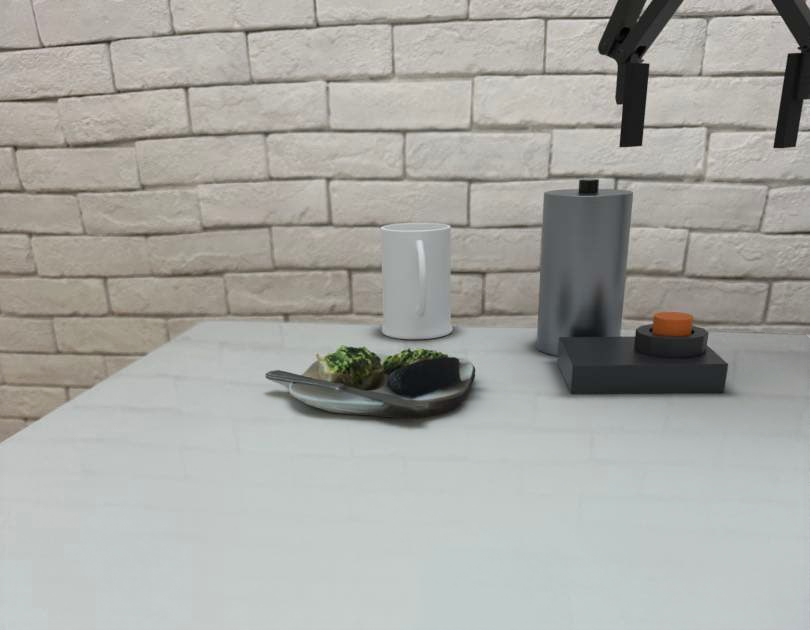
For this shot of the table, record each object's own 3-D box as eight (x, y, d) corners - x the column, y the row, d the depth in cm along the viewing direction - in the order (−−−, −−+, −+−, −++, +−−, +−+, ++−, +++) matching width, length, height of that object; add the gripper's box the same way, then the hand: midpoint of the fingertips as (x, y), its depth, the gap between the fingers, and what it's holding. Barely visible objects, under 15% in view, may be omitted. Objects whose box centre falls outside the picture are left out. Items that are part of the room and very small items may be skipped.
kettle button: (685, 329, 83) (687, 311, 83) (695, 338, 80) (697, 319, 79) (648, 330, 84) (650, 312, 83) (656, 338, 80) (658, 320, 80)
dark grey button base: (693, 361, 88) (699, 317, 86) (724, 392, 79) (731, 344, 77) (557, 363, 89) (559, 319, 87) (570, 394, 79) (574, 345, 77)
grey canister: (611, 337, 99) (625, 175, 91) (626, 357, 91) (642, 181, 83) (533, 338, 99) (540, 177, 91) (540, 358, 91) (549, 183, 83)
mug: (455, 346, 97) (455, 233, 91) (379, 347, 97) (375, 235, 91) (450, 322, 107) (451, 221, 102) (382, 324, 107) (379, 222, 102)
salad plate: (235, 419, 75) (230, 366, 73) (299, 365, 90) (296, 321, 88) (455, 429, 71) (455, 375, 69) (482, 371, 87) (482, 325, 85)
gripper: (568, -146, 68) (553, 148, 77) (914, -229, 53) (843, 150, 62) (617, -130, 73) (597, 144, 82) (946, -202, 58) (876, 146, 67)
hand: (703, 147), depth 72 cm, fingers open, 13 cm apart
